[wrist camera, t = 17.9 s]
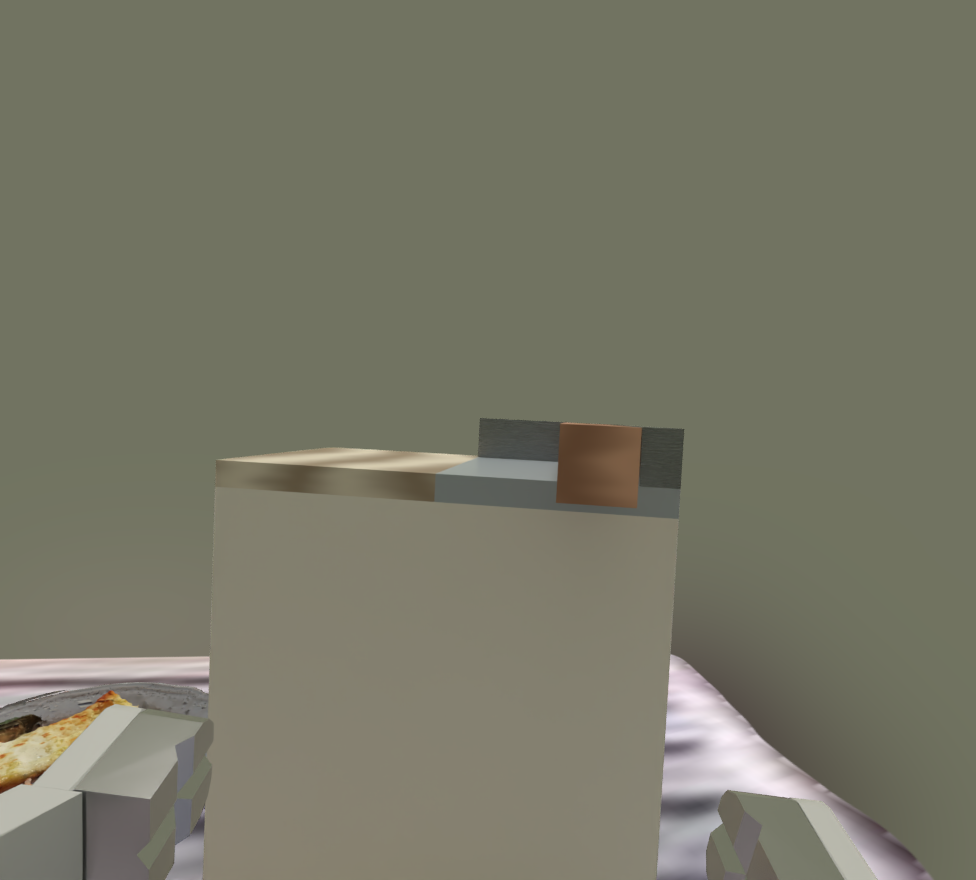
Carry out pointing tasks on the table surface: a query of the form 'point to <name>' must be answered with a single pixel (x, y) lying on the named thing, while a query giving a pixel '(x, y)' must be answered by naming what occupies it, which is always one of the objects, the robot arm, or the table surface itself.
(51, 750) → the food plate
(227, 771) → the lidded kitchen bin
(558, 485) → the rod
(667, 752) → the table surface
